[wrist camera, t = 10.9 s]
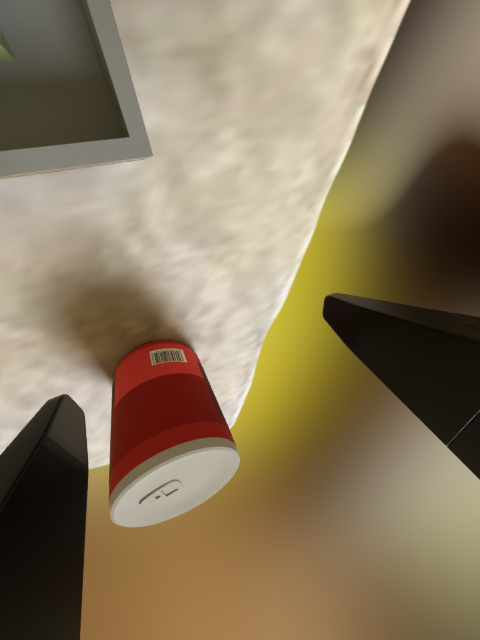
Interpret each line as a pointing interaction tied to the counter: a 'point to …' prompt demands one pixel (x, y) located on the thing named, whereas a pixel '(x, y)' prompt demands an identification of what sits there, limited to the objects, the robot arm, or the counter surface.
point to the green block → (5, 49)
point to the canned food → (165, 436)
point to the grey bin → (65, 89)
